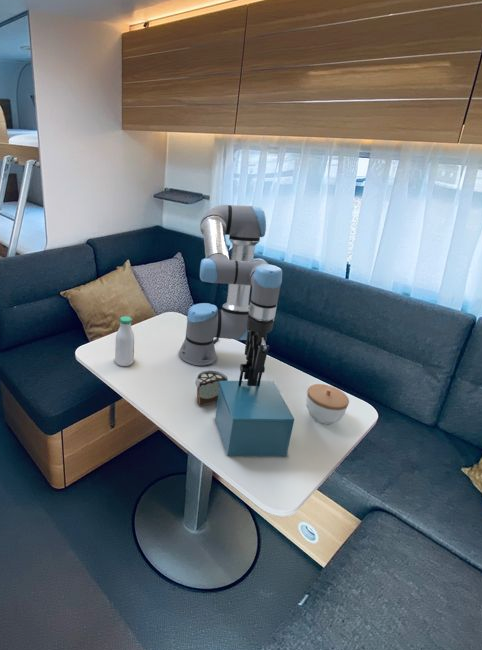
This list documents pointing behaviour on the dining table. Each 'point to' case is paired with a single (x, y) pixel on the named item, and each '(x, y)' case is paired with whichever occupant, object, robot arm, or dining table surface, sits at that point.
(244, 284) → the robot arm
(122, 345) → the milk bottle
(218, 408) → the box
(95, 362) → the dining table surface
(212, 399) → the food container
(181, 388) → the dining table surface
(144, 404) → the dining table surface
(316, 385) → the lidded bowl
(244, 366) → the freezer lid
